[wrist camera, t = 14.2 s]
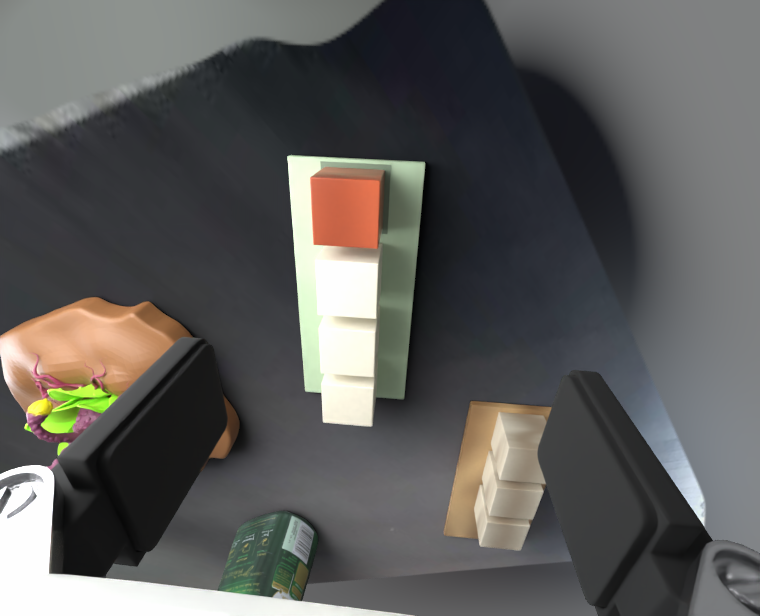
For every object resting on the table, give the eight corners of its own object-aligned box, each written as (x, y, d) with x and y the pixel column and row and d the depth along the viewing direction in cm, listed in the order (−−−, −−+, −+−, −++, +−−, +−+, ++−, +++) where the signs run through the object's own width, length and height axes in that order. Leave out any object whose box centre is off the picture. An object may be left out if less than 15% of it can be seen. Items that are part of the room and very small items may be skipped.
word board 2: (571, 408, 33) (593, 450, 29) (522, 538, 43) (533, 582, 39) (470, 400, 34) (478, 440, 30) (443, 530, 43) (447, 574, 39)
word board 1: (425, 161, 24) (427, 172, 20) (404, 395, 34) (402, 434, 30) (289, 154, 25) (266, 164, 21) (306, 387, 34) (292, 424, 30)
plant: (-22, 311, 33) (-205, 399, 23) (177, 283, 30) (64, 369, 20) (96, 464, 42) (1, 573, 32) (257, 454, 39) (206, 570, 30)
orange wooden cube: (385, 169, 24) (380, 180, 21) (382, 230, 26) (378, 249, 23) (324, 166, 24) (309, 176, 21) (325, 226, 26) (312, 245, 23)
